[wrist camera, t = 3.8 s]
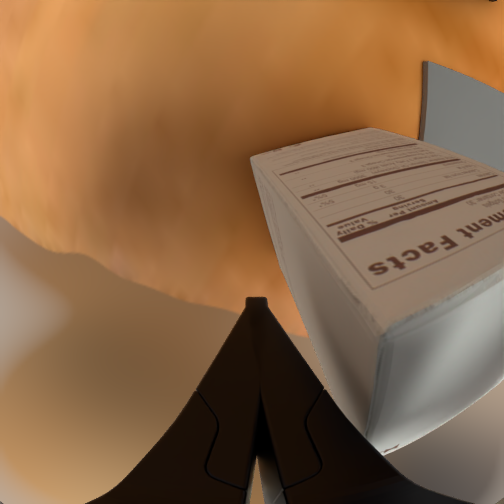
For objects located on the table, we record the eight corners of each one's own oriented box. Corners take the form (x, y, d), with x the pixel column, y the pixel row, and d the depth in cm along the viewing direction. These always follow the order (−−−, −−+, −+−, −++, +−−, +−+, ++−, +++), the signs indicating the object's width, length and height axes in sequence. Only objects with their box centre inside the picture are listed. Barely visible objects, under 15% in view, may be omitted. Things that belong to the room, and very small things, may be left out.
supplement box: (382, 234, 17) (510, 377, 7) (277, 268, 18) (353, 471, 7) (372, 123, 14) (584, 213, 3) (245, 151, 14) (377, 351, 3)
